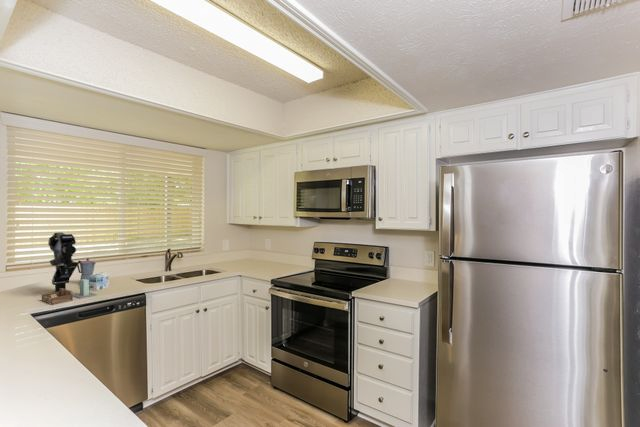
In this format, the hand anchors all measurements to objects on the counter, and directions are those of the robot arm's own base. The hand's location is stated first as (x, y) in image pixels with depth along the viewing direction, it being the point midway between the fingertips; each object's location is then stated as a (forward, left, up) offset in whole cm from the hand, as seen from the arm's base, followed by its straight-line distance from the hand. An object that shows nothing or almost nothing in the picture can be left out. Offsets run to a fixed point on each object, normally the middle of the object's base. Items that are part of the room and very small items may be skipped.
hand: (66, 276), depth 216 cm
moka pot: (-27, +23, -13) cm, 38 cm away
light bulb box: (-4, +22, -13) cm, 26 cm away
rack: (+9, -8, -13) cm, 18 cm away
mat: (+9, +7, -13) cm, 17 cm away
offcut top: (+8, -10, -11) cm, 17 cm away
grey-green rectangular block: (+9, +7, -12) cm, 17 cm away
